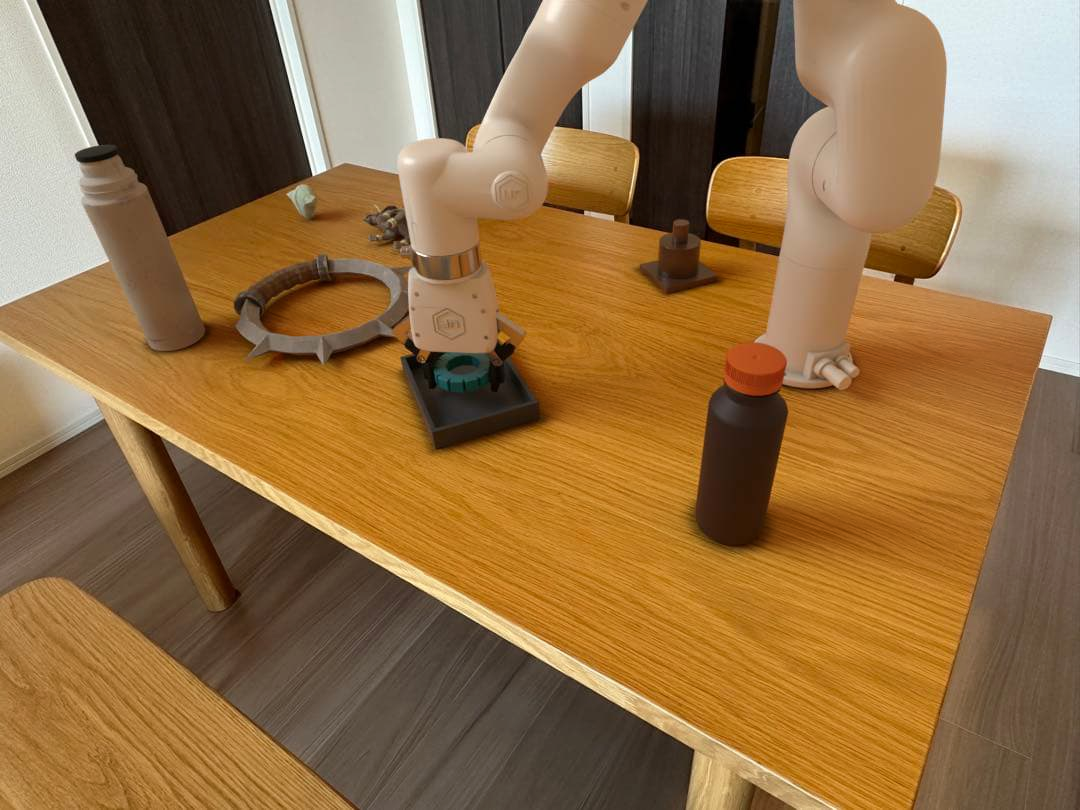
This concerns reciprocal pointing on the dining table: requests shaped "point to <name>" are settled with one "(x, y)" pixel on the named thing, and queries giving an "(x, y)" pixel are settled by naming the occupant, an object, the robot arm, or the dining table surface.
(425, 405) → the tray
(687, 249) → the ring stand
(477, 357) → the ring
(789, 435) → the dining table surface
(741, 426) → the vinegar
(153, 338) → the thermos bottle
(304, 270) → the spiked ring
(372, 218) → the figurine
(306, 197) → the pale green irregular chunk
